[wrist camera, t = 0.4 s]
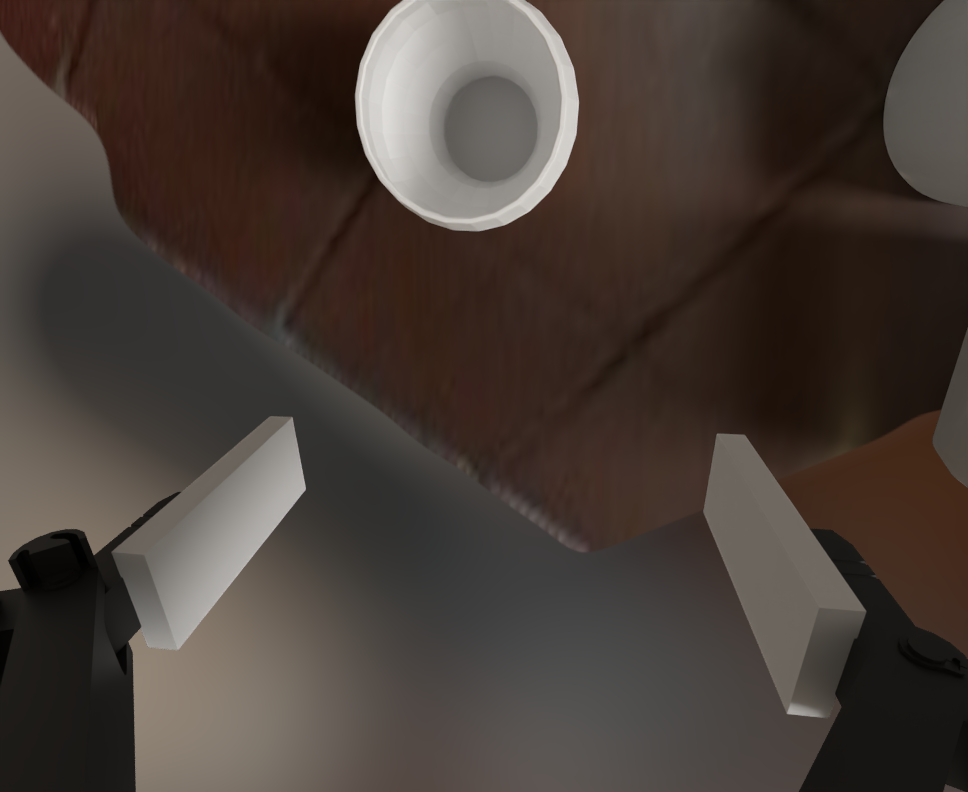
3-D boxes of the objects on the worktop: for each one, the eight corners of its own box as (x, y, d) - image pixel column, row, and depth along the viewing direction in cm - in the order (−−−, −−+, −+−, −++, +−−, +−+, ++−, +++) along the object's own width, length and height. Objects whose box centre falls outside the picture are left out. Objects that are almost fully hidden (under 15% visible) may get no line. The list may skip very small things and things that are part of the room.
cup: (398, 86, 36) (300, 34, 23) (544, 14, 34) (533, -94, 20) (456, 235, 40) (400, 268, 26) (592, 181, 37) (611, 186, 23)
